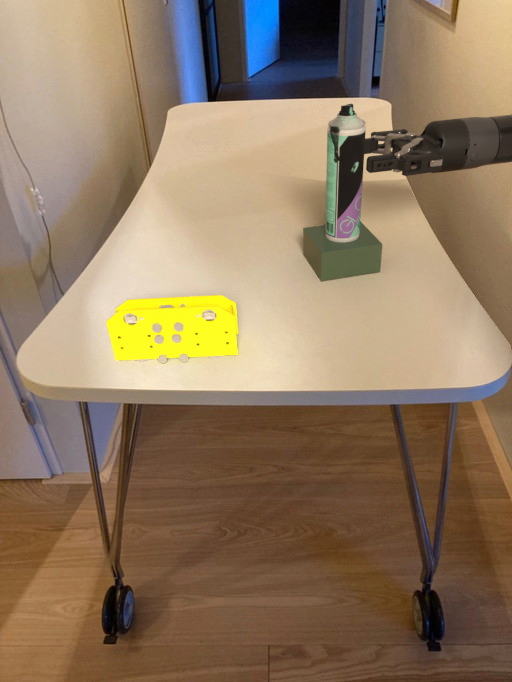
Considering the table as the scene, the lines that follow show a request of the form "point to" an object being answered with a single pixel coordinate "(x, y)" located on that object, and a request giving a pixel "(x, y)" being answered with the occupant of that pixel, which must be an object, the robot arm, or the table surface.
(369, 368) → the table surface
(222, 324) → the yellow toy chassis
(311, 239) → the sage block
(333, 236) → the spray can
